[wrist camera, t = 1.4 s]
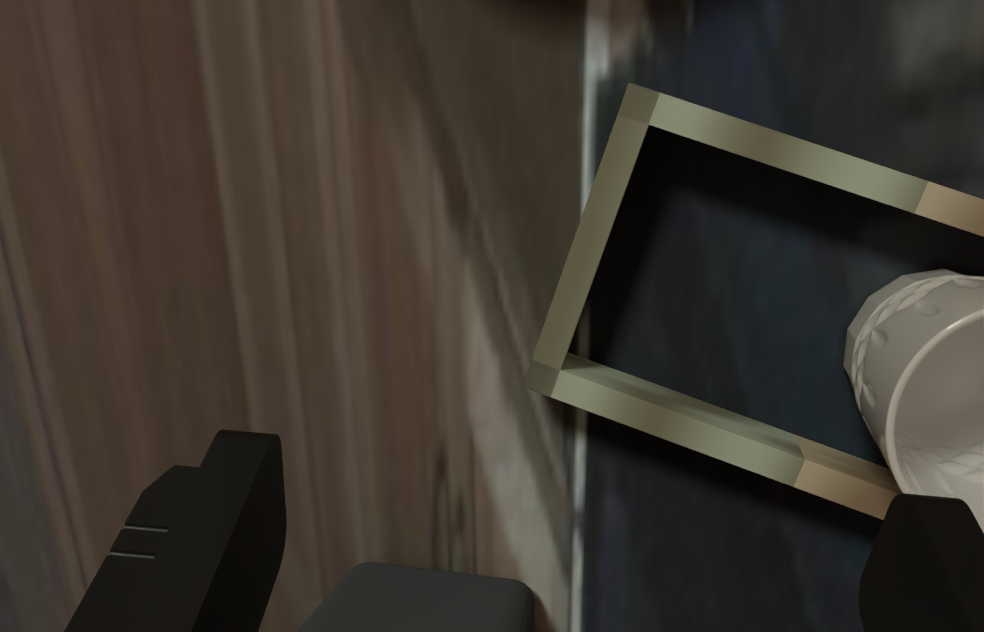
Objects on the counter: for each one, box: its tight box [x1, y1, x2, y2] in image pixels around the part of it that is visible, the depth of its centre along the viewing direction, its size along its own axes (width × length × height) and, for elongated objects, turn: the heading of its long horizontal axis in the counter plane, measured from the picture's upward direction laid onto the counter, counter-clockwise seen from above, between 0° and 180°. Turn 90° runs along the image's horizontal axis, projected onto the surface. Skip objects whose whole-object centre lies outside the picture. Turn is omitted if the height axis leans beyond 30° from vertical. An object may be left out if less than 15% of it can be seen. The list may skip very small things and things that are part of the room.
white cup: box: [843, 269, 984, 533], centre depth 32 cm, size 8×8×10 cm
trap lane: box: [522, 83, 984, 520], centre depth 35 cm, size 32×12×3 cm, turn 72°
